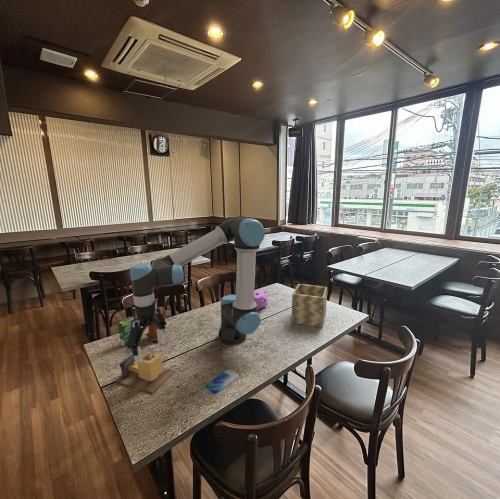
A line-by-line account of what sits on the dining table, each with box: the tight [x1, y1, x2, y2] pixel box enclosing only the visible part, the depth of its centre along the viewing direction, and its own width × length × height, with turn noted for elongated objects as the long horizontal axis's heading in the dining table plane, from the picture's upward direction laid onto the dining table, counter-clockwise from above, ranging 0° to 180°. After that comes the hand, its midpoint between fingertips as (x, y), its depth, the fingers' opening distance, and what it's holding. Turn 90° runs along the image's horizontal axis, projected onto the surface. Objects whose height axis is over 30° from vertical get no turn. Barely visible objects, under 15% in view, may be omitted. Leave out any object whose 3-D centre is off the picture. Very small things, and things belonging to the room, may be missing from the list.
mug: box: [145, 306, 166, 342], centre depth 145 cm, size 15×8×15 cm, turn 168°
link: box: [129, 351, 163, 381], centre depth 114 cm, size 16×6×8 cm, turn 68°
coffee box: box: [117, 315, 135, 348], centre depth 139 cm, size 8×3×13 cm, turn 159°
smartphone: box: [203, 368, 241, 396], centre depth 111 cm, size 7×1×15 cm
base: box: [114, 353, 176, 395], centre depth 113 cm, size 19×14×12 cm
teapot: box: [254, 289, 269, 311], centre depth 182 cm, size 15×13×11 cm
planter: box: [290, 283, 328, 328], centre depth 165 cm, size 18×19×18 cm
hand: (150, 351), depth 111 cm, fingers open, 13 cm apart
